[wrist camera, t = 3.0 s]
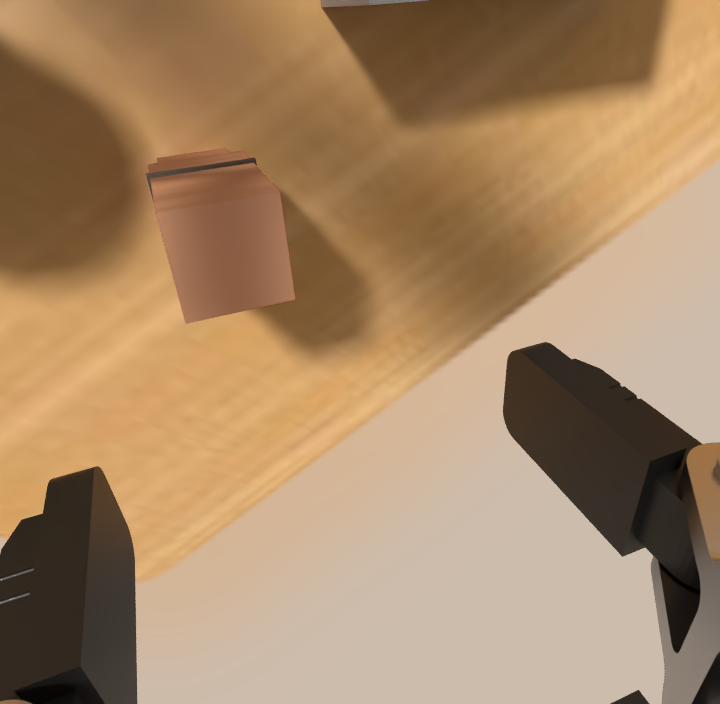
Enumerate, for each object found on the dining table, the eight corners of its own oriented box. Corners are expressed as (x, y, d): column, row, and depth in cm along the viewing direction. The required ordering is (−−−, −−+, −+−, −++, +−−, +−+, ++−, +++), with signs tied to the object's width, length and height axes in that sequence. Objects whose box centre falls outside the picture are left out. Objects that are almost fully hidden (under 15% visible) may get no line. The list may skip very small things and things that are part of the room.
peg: (166, 236, 27) (183, 326, 19) (142, 148, 25) (151, 210, 17) (249, 221, 29) (298, 301, 20) (234, 136, 26) (282, 188, 18)
